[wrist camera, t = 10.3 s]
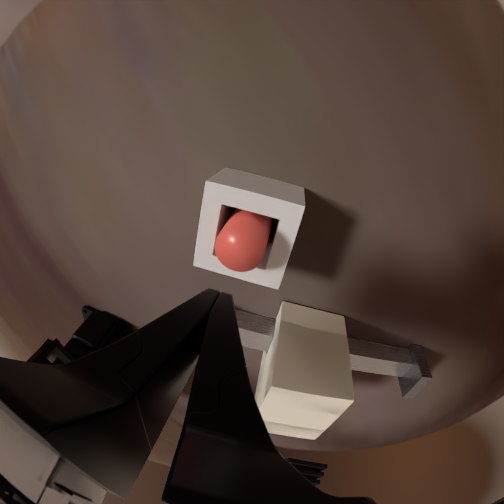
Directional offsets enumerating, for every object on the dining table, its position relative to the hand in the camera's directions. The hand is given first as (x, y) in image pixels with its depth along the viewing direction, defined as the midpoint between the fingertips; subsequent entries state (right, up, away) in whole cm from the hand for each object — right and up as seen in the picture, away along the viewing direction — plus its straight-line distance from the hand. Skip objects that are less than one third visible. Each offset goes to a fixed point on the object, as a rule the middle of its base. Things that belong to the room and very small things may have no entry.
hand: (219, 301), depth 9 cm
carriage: (+5, -5, +13) cm, 15 cm away
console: (+1, +4, +9) cm, 10 cm away
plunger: (+1, +4, +8) cm, 9 cm away
